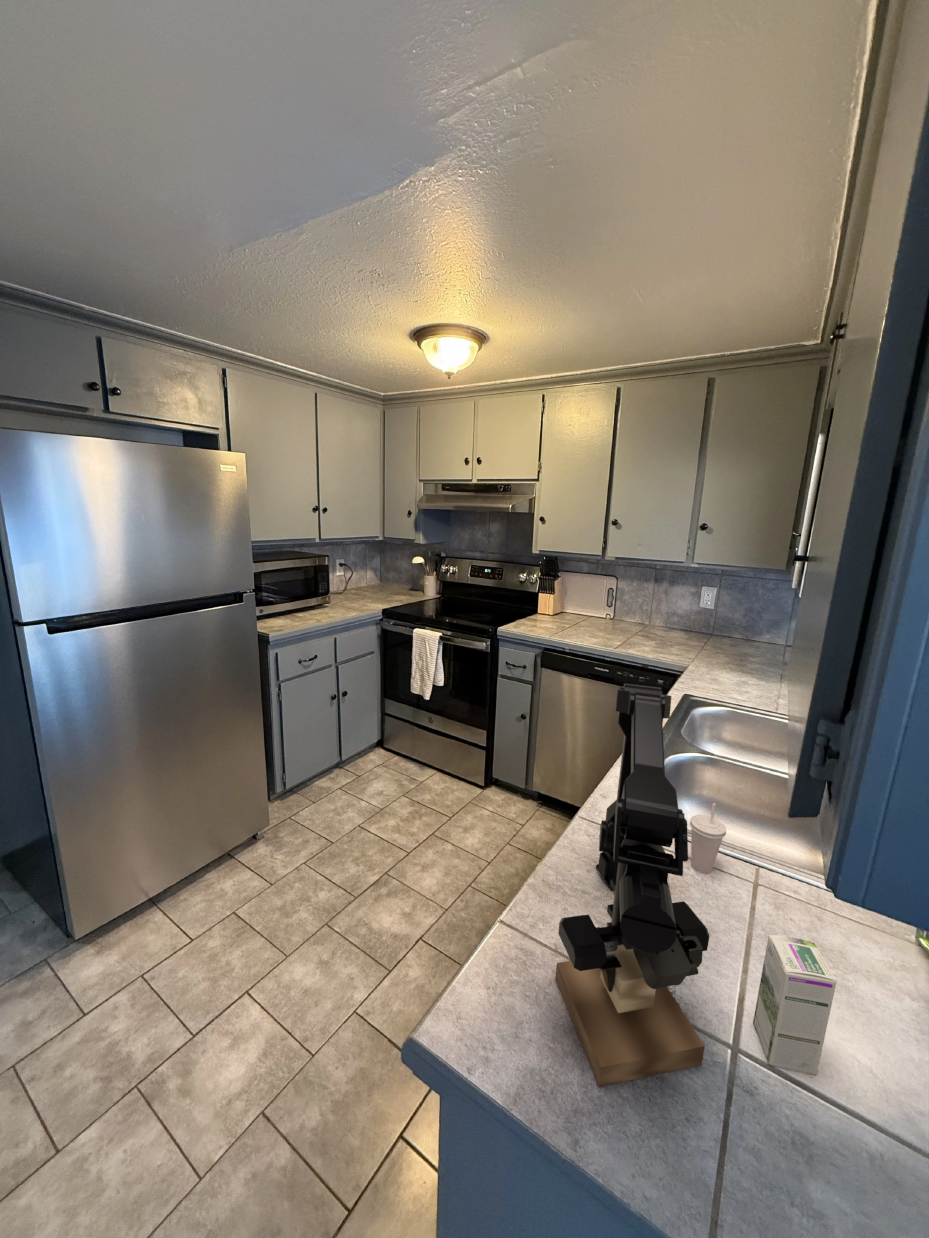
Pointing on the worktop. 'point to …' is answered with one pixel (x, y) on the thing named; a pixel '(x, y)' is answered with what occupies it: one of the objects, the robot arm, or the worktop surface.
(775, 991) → the syrup box
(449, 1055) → the worktop surface
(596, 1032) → the walnut base
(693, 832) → the smoothie
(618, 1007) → the maple cube
